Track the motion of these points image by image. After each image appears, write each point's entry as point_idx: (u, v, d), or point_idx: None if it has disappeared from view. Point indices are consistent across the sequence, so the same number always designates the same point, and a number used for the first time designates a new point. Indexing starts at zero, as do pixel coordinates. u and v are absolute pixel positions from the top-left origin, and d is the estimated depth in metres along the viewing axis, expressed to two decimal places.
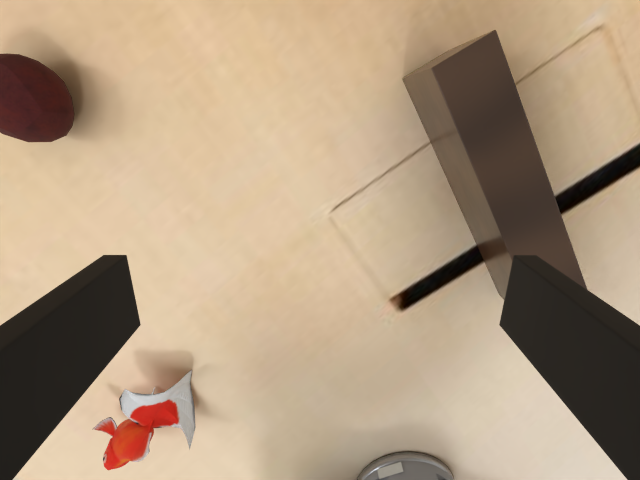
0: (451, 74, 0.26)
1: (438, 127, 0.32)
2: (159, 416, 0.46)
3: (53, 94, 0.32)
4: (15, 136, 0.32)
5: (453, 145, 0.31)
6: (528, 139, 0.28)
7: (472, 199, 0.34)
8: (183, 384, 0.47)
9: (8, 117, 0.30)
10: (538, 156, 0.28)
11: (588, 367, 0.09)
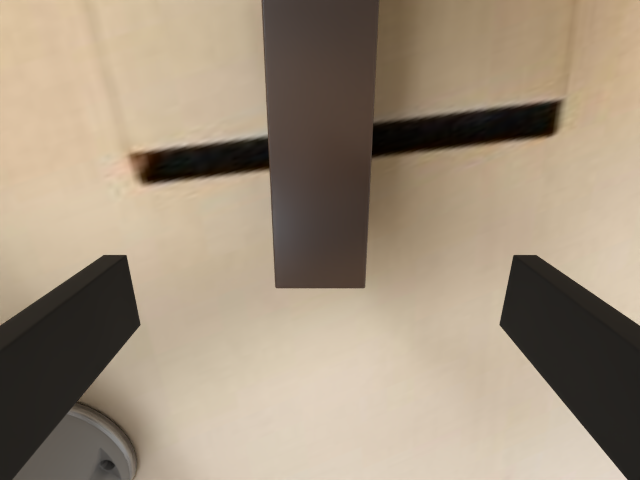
0: None
1: None
2: None
3: None
4: None
5: None
6: None
7: None
8: None
9: None
10: None
11: (588, 367, 0.09)
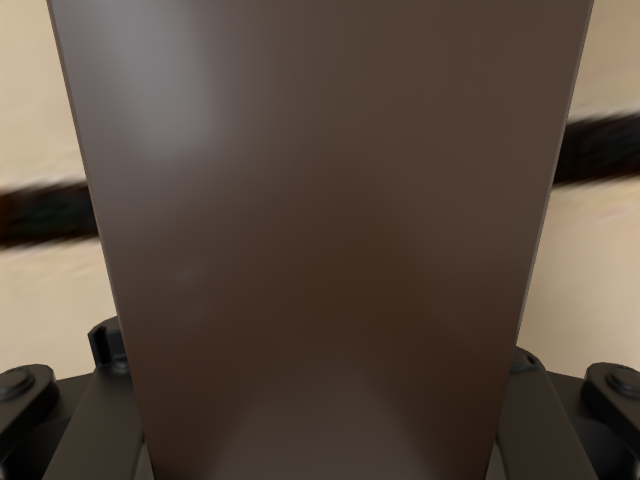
0: None
1: None
2: None
3: None
4: None
5: None
6: None
7: None
8: None
9: None
10: None
11: None
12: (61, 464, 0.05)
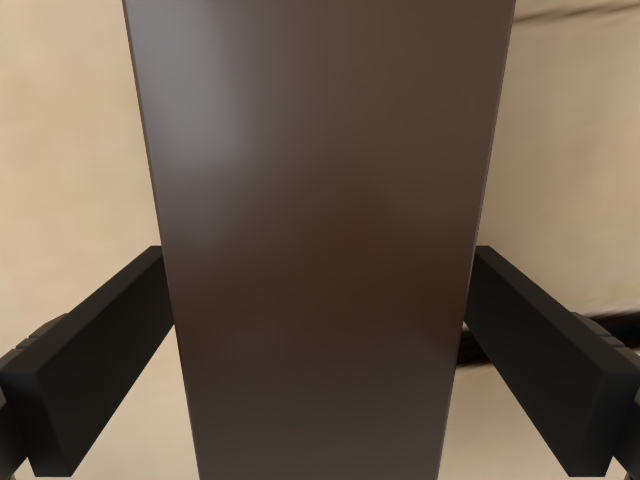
0: None
1: None
2: None
3: None
4: None
5: None
6: None
7: None
8: None
9: None
10: None
11: (520, 345, 0.09)
12: None
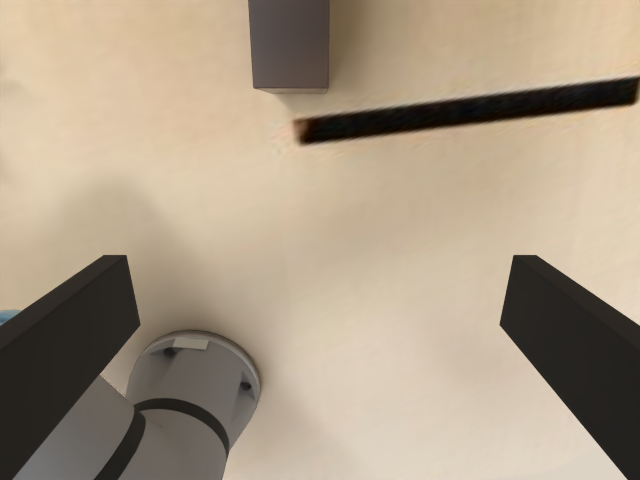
0: None
1: None
2: None
3: None
4: None
5: None
6: None
7: None
8: None
9: None
10: None
11: (588, 367, 0.09)
12: None
